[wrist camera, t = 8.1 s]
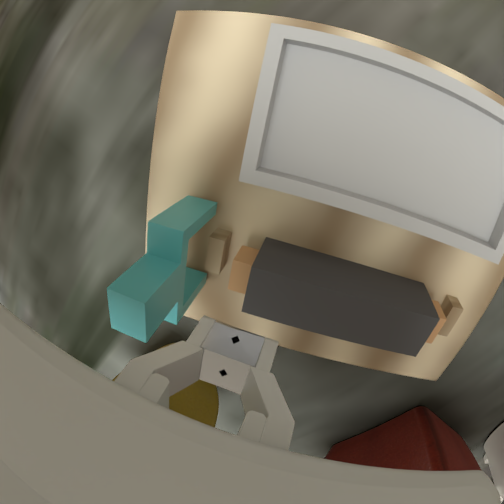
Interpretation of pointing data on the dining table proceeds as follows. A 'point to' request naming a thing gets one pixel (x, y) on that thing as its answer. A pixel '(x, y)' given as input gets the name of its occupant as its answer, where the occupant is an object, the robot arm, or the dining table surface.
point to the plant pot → (408, 445)
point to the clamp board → (287, 196)
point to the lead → (335, 297)
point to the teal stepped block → (161, 272)
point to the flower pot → (196, 401)
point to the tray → (378, 139)
